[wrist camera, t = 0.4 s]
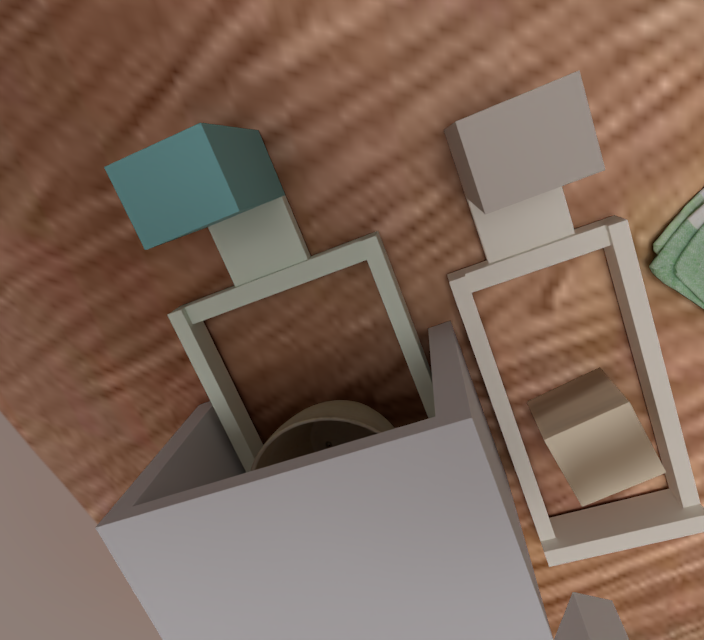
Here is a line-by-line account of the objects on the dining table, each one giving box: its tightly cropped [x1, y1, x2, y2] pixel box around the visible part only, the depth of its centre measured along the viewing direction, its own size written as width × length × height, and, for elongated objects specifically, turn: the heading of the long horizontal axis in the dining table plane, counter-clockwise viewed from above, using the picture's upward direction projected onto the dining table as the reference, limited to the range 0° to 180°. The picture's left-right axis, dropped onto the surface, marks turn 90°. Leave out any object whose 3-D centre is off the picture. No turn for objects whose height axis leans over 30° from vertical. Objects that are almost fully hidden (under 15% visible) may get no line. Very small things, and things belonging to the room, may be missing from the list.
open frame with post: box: [444, 71, 704, 567], centre depth 29 cm, size 28×10×9 cm, turn 21°
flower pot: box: [251, 400, 395, 471], centre depth 34 cm, size 10×10×7 cm
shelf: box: [96, 321, 553, 640], centre depth 31 cm, size 12×18×13 cm, turn 111°
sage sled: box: [104, 123, 435, 473], centre depth 31 cm, size 28×14×9 cm, turn 21°
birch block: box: [527, 368, 666, 507], centre depth 33 cm, size 5×5×5 cm
